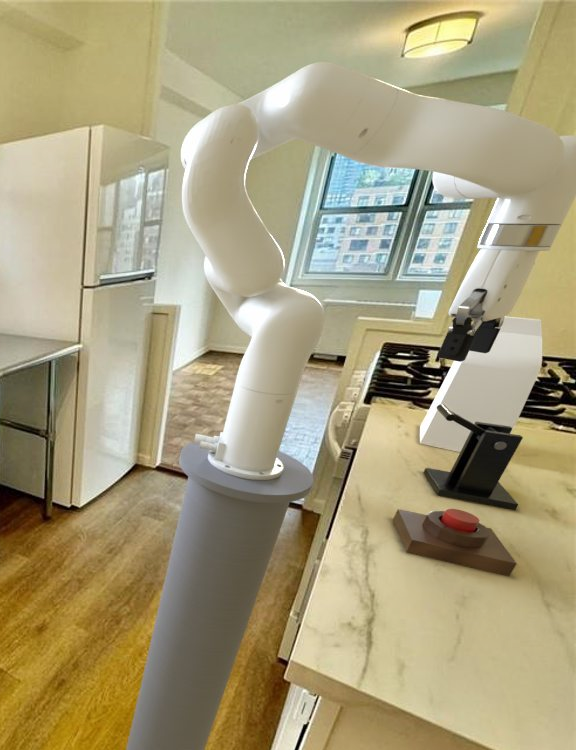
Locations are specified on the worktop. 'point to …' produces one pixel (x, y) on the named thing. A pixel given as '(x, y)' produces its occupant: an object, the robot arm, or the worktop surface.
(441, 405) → the lever
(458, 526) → the button
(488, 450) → the bracket
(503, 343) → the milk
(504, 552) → the button box
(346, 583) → the worktop surface
